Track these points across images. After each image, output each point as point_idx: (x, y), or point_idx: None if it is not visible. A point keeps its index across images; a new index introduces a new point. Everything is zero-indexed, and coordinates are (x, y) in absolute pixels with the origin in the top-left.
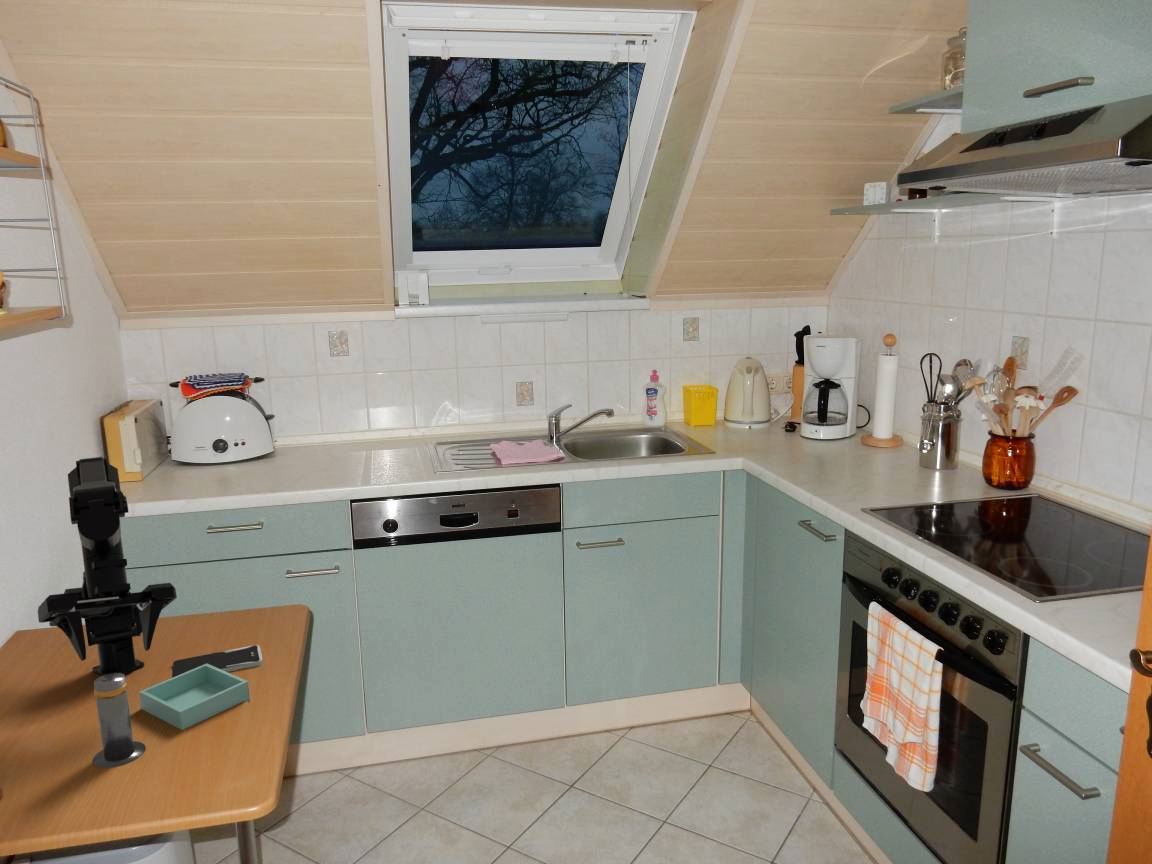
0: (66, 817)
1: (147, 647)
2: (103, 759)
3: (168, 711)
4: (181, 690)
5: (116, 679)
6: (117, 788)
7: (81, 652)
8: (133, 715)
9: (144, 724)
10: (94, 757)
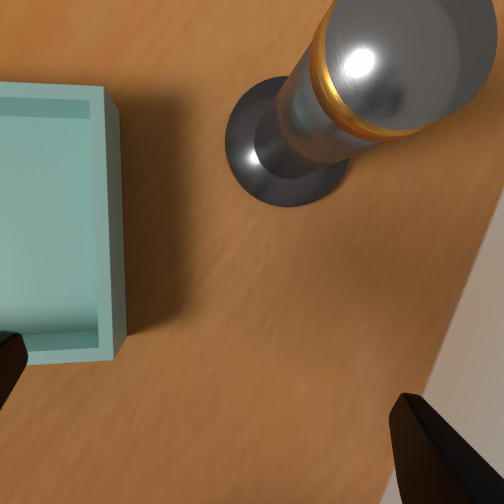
0: None
1: (10, 335)
2: None
3: (111, 170)
4: None
5: None
6: None
7: (450, 428)
8: (151, 337)
9: (159, 259)
10: (333, 184)
